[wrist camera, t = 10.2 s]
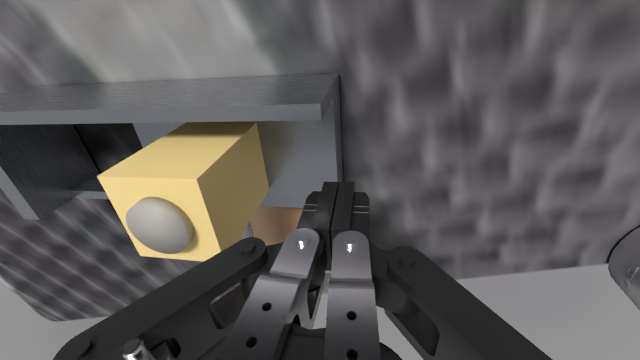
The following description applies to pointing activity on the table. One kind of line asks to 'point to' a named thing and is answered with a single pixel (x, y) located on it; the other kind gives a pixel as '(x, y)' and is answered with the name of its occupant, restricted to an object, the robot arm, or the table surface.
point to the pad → (275, 223)
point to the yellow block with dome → (190, 190)
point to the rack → (160, 119)
